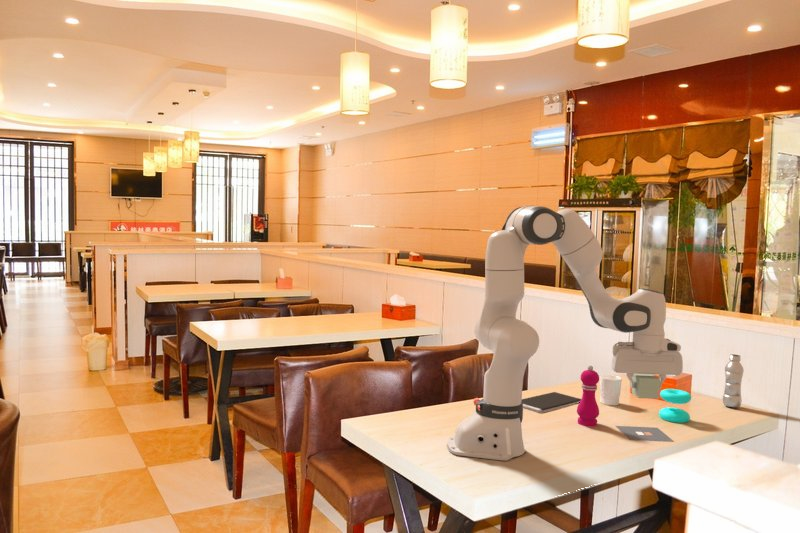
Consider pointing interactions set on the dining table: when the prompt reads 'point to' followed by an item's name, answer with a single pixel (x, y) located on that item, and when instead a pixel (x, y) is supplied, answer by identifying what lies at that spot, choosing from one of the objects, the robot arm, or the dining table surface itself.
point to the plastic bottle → (733, 382)
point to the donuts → (677, 398)
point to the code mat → (644, 433)
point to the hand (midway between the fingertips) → (645, 388)
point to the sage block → (646, 386)
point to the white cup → (610, 389)
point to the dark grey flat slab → (548, 402)
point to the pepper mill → (588, 399)
